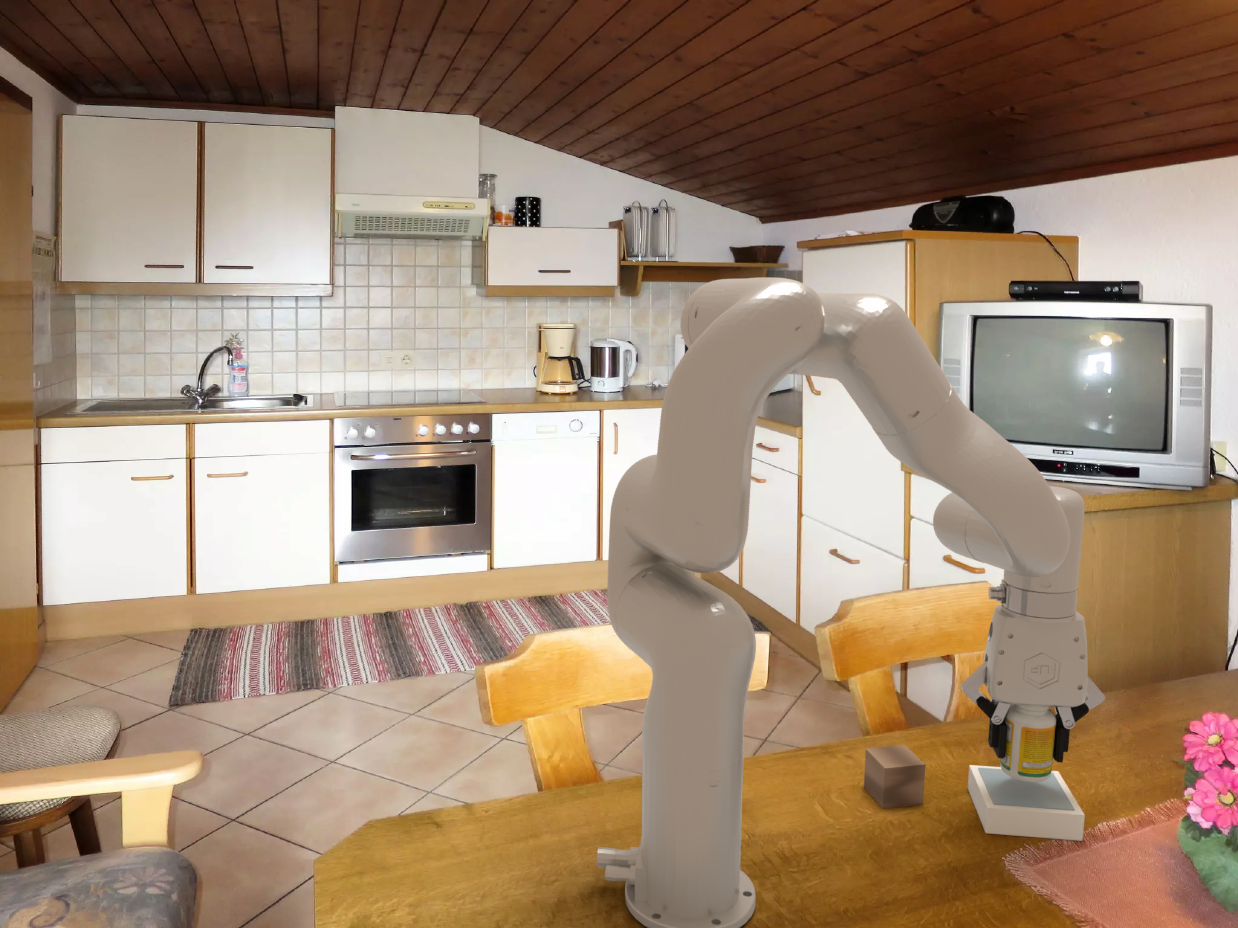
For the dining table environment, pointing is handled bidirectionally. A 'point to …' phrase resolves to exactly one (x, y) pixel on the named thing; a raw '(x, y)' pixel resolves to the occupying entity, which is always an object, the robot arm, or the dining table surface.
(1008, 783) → the base
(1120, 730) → the dining table surface
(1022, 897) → the dining table surface
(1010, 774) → the supplement bottle
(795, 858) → the dining table surface
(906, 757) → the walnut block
